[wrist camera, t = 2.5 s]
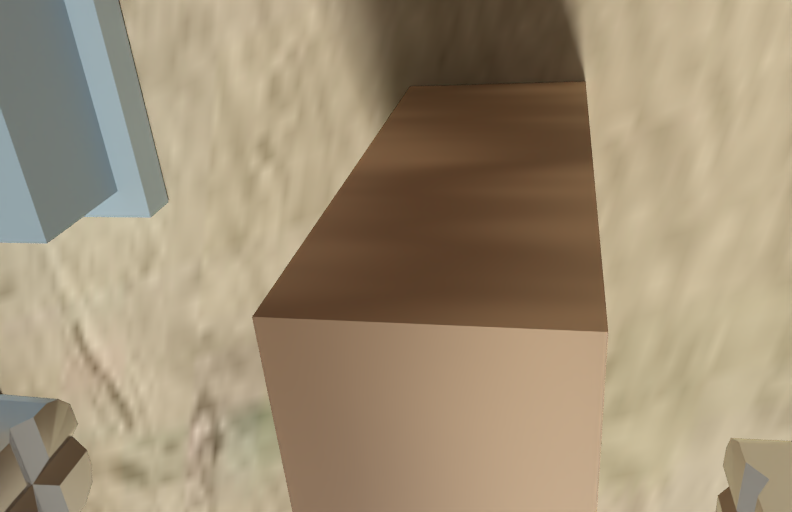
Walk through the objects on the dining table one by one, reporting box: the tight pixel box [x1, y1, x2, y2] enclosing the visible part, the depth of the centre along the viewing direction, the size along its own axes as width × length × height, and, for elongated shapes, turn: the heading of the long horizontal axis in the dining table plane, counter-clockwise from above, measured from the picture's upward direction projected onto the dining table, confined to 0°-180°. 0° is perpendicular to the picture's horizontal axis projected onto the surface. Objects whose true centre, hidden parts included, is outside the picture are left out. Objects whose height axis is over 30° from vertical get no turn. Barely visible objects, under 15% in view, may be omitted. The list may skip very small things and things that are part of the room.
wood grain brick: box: [252, 81, 608, 512], centre depth 13 cm, size 4×4×10 cm
